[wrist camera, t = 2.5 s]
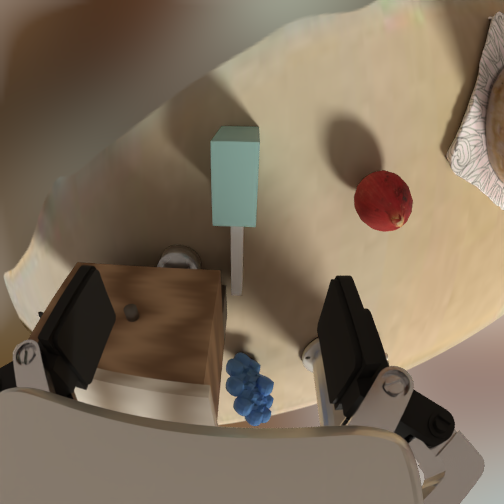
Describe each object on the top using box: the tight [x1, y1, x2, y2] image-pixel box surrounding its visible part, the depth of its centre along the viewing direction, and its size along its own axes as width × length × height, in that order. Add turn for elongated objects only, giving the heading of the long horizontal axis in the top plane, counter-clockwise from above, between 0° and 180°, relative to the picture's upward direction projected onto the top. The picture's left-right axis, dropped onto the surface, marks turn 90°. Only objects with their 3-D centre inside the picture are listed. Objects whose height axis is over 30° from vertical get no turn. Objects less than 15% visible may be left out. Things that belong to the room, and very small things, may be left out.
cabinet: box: [13, 262, 227, 426], centre depth 28 cm, size 18×14×19 cm
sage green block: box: [211, 126, 260, 296], centre depth 27 cm, size 4×18×7 cm, turn 178°
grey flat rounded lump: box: [157, 245, 201, 269], centre depth 33 cm, size 5×5×2 cm
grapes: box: [226, 352, 274, 426], centre depth 40 cm, size 12×7×12 cm, turn 34°
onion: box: [354, 170, 413, 231], centre depth 24 cm, size 6×6×8 cm
